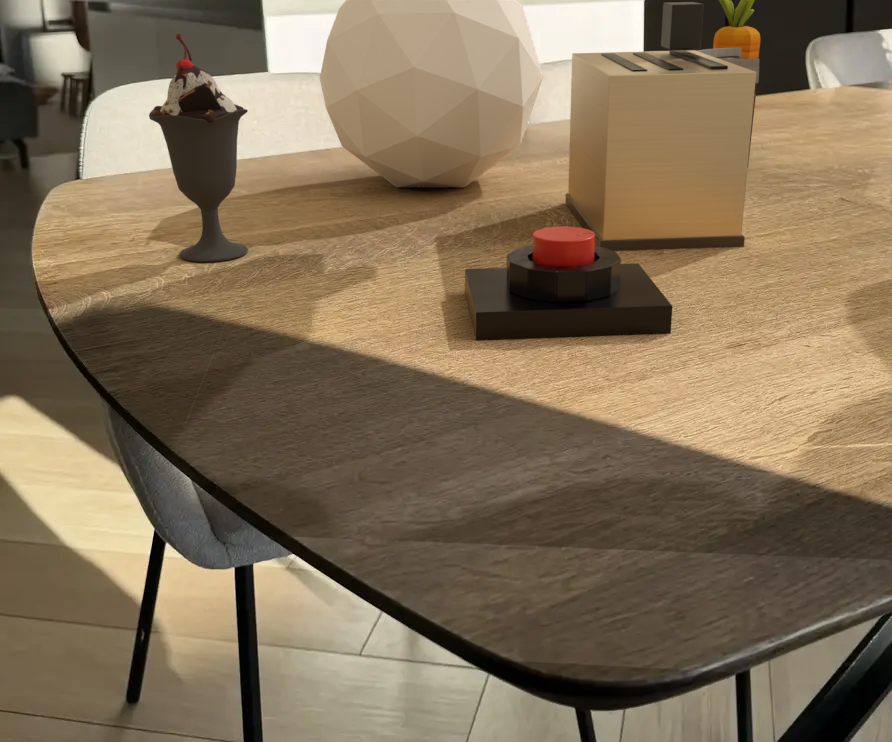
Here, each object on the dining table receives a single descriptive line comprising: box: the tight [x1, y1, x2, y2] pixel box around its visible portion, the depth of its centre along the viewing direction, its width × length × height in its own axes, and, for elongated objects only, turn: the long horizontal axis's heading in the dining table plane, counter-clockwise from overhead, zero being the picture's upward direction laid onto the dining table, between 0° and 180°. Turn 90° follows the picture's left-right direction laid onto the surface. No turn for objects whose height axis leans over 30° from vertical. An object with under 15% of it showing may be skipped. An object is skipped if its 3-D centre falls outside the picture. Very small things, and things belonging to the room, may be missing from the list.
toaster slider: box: [660, 1, 705, 50], centre depth 86 cm, size 2×3×3 cm
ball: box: [319, 0, 544, 189], centre depth 99 cm, size 19×20×20 cm
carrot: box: [712, 0, 761, 59], centre depth 121 cm, size 5×5×15 cm
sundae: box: [148, 32, 249, 263], centre depth 78 cm, size 7×7×15 cm
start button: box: [532, 226, 595, 266], centre depth 65 cm, size 4×4×2 cm
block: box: [464, 244, 673, 342], centre depth 66 cm, size 11×9×4 cm
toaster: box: [564, 49, 756, 252], centre depth 85 cm, size 10×16×12 cm, turn 3°
